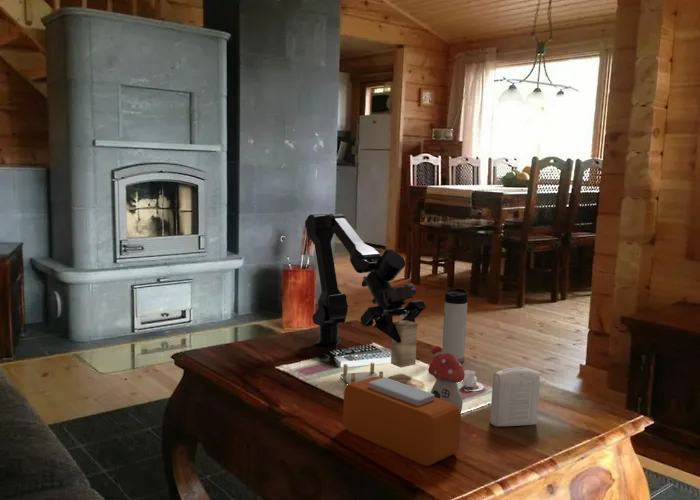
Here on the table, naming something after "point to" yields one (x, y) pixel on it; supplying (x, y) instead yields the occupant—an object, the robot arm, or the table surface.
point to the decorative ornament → (446, 377)
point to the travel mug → (455, 323)
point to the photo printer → (515, 397)
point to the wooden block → (404, 344)
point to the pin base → (359, 375)
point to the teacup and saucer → (471, 380)
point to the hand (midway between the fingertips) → (407, 340)
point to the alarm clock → (402, 419)
